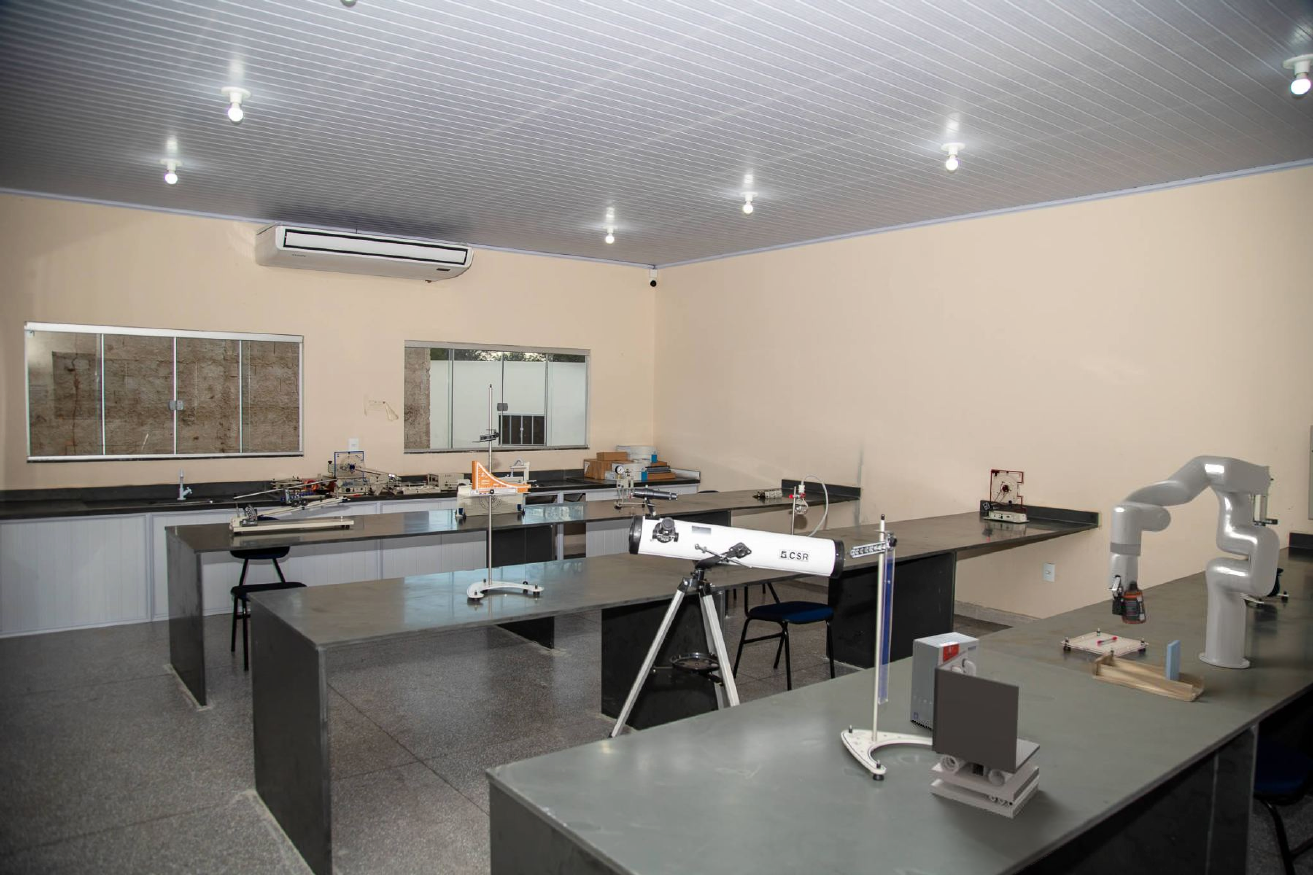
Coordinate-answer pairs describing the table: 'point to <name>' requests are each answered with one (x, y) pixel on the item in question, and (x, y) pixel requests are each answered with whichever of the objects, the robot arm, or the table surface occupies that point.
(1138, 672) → the lane tray
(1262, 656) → the table surface
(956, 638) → the hard drive box
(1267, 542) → the robot arm
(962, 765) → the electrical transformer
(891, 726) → the table surface
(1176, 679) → the pusher plate
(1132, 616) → the supplement bottle
